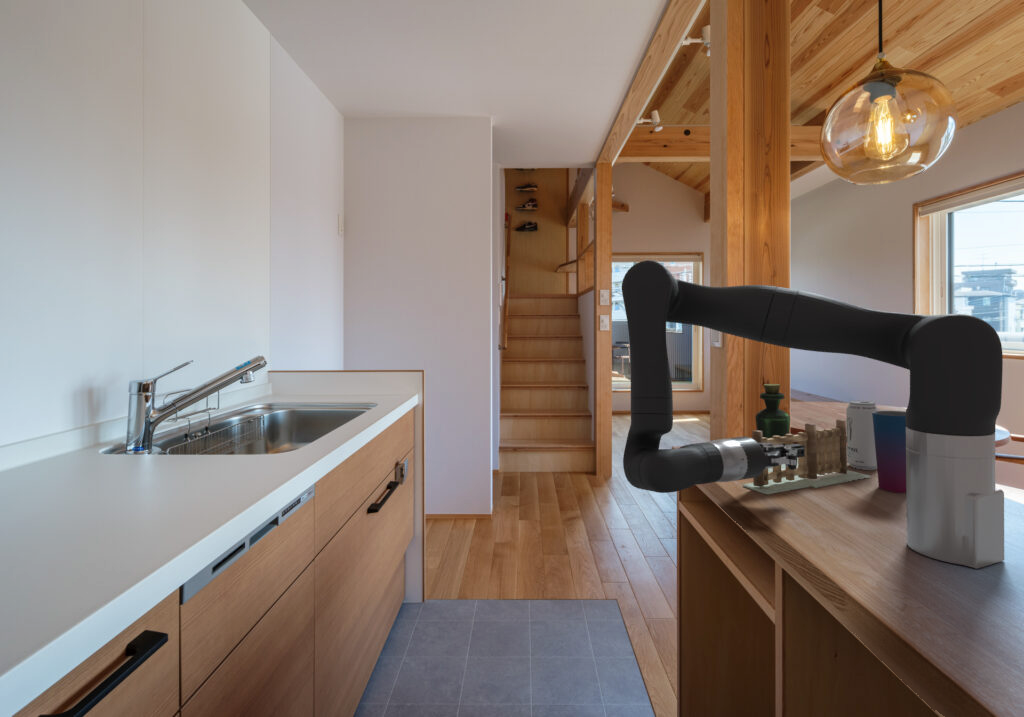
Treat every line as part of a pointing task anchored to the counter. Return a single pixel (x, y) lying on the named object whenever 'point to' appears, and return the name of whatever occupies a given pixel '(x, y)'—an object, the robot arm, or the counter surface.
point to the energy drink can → (861, 435)
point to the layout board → (805, 481)
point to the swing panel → (777, 471)
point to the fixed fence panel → (826, 449)
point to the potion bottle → (772, 414)
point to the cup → (890, 449)
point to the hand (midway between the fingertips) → (801, 449)
